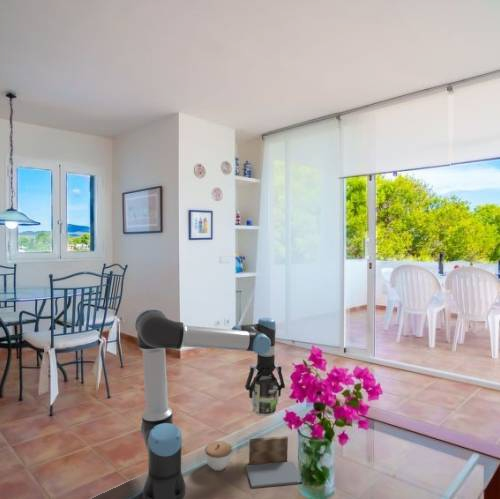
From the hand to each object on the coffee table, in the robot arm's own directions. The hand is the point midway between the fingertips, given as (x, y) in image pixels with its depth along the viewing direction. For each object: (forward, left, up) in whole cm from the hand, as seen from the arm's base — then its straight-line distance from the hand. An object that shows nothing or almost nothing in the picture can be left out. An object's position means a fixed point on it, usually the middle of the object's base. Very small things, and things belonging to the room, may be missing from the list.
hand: (264, 404), depth 174 cm
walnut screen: (0, -9, -21) cm, 22 cm away
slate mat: (0, -18, -21) cm, 27 cm away
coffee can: (0, 0, -3) cm, 3 cm away
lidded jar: (-21, -9, -21) cm, 31 cm away
